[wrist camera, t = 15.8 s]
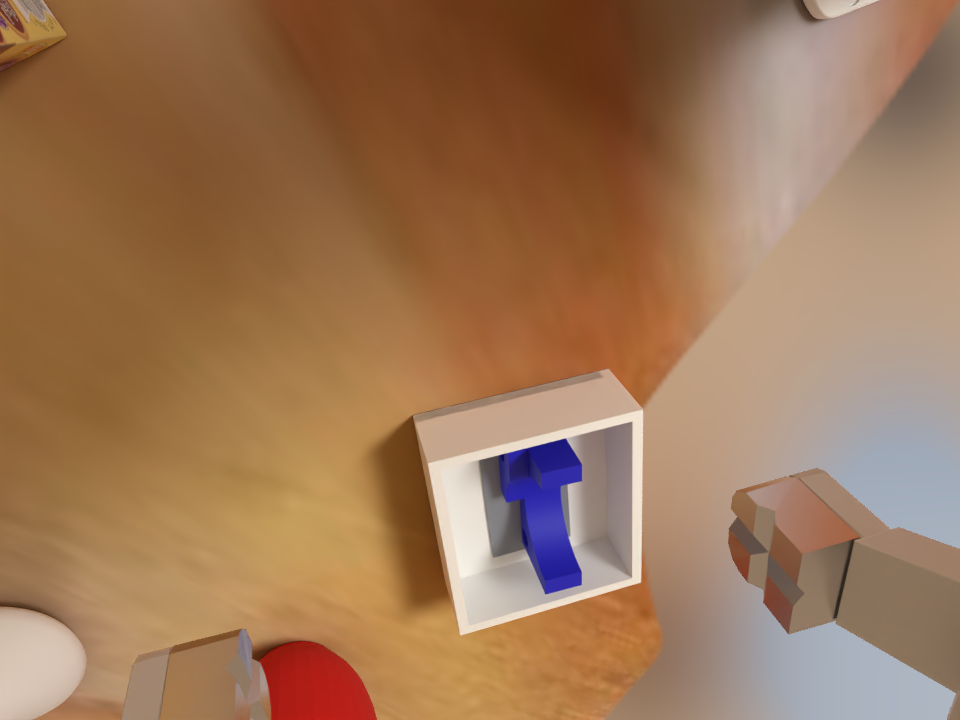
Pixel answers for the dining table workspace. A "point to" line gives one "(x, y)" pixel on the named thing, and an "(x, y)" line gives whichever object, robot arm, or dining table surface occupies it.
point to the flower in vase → (36, 663)
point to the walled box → (496, 524)
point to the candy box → (26, 30)
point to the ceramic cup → (314, 685)
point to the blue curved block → (544, 508)
